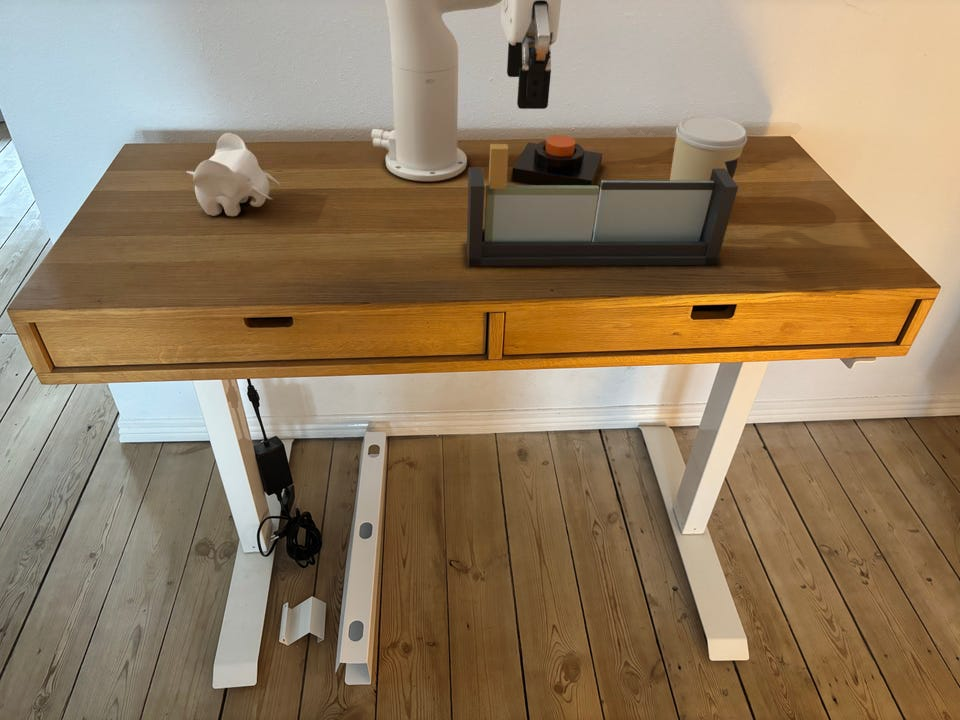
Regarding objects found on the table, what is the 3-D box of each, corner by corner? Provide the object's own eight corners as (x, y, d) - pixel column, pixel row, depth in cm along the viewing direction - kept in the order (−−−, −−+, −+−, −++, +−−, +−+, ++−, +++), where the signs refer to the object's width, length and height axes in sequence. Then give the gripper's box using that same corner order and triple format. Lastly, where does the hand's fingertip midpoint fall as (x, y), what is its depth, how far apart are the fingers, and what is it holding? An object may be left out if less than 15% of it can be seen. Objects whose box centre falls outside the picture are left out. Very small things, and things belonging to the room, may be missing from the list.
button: (542, 155, 110) (543, 144, 109) (548, 144, 113) (549, 133, 112) (571, 159, 109) (572, 148, 108) (576, 148, 112) (577, 137, 111)
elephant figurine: (271, 226, 98) (260, 164, 92) (182, 221, 98) (166, 159, 92) (288, 193, 105) (279, 133, 100) (205, 189, 105) (192, 129, 100)
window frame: (468, 266, 92) (470, 186, 85) (466, 245, 96) (468, 167, 89) (716, 265, 94) (738, 186, 87) (704, 245, 98) (725, 168, 91)
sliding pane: (484, 250, 92) (488, 148, 84) (483, 244, 93) (487, 143, 85) (590, 250, 93) (605, 149, 85) (588, 244, 94) (603, 144, 86)
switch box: (511, 181, 111) (513, 156, 108) (527, 155, 118) (528, 131, 116) (589, 194, 108) (593, 169, 106) (600, 166, 116) (604, 142, 113)
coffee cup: (728, 227, 102) (751, 145, 94) (660, 219, 103) (677, 137, 96) (724, 197, 109) (746, 118, 101) (661, 189, 110) (677, 111, 103)
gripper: (491, -103, 77) (485, 65, 88) (510, -72, 63) (500, 121, 74) (562, -101, 77) (547, 65, 88) (595, -70, 64) (573, 121, 75)
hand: (526, 91), depth 81 cm, fingers open, 9 cm apart
